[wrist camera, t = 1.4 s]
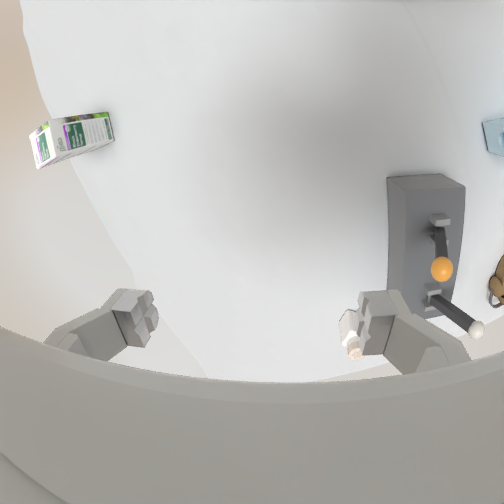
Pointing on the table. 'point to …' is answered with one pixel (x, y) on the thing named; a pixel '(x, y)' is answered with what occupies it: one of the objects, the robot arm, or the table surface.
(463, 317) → the grey lever
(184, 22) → the table surface
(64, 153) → the syrup box
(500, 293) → the alarm clock
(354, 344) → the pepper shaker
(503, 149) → the light blue rounded box
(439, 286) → the switch box
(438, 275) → the orange lever
